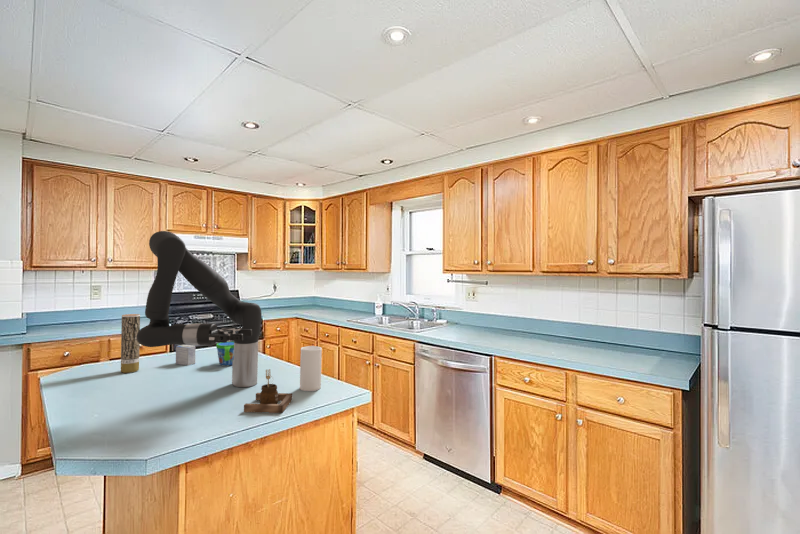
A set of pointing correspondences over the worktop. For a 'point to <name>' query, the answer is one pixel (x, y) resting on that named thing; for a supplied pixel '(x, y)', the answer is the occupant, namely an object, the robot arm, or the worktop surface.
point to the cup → (310, 368)
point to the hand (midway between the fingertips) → (247, 334)
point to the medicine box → (185, 354)
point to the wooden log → (130, 343)
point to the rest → (270, 408)
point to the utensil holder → (269, 392)
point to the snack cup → (225, 353)
